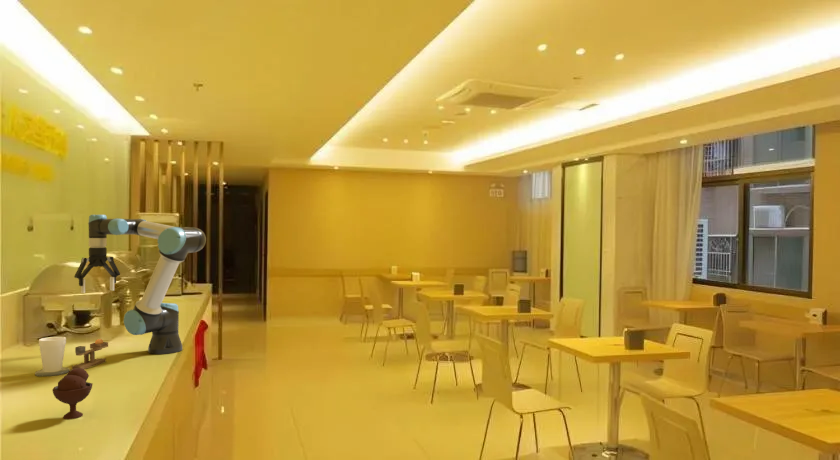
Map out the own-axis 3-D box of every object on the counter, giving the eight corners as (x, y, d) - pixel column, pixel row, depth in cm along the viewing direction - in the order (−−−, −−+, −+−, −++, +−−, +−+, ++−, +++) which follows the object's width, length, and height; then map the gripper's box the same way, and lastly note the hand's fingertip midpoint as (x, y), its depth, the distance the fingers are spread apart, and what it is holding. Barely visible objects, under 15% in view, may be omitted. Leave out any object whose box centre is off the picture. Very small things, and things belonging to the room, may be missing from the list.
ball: (104, 345, 263) (104, 338, 263) (99, 347, 260) (99, 339, 260) (98, 345, 264) (98, 338, 264) (93, 346, 260) (93, 339, 260)
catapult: (108, 361, 264) (108, 340, 264) (81, 370, 248) (81, 348, 248) (98, 361, 265) (98, 340, 265) (71, 369, 249) (71, 347, 249)
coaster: (76, 369, 248) (76, 367, 248) (54, 377, 237) (54, 374, 237) (51, 368, 250) (51, 366, 250) (27, 375, 239) (27, 373, 239)
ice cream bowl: (63, 411, 192) (63, 365, 192) (99, 410, 193) (99, 364, 193) (45, 422, 182) (45, 373, 182) (83, 421, 183) (83, 372, 183)
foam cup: (52, 373, 238) (52, 341, 238) (33, 372, 240) (33, 340, 240) (71, 368, 247) (71, 337, 247) (52, 367, 249) (52, 336, 249)
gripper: (119, 246, 296) (119, 288, 296) (66, 247, 275) (66, 293, 275) (127, 246, 291) (127, 289, 292) (74, 248, 271) (74, 294, 271)
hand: (97, 291), depth 284 cm, fingers open, 13 cm apart
